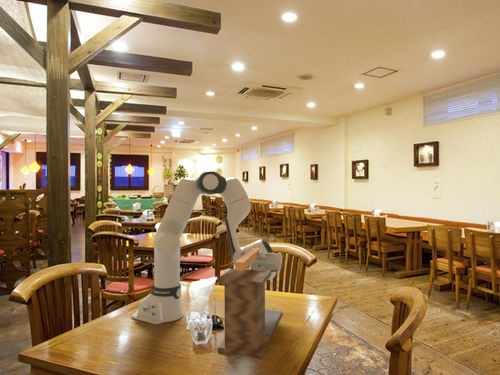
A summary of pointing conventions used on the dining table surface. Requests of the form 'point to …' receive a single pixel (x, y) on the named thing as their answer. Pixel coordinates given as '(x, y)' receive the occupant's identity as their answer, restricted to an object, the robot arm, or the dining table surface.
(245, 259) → the bar
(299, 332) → the dining table surface
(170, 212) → the robot arm
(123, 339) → the dining table surface
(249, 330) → the wooden pillar on base
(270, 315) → the mat
